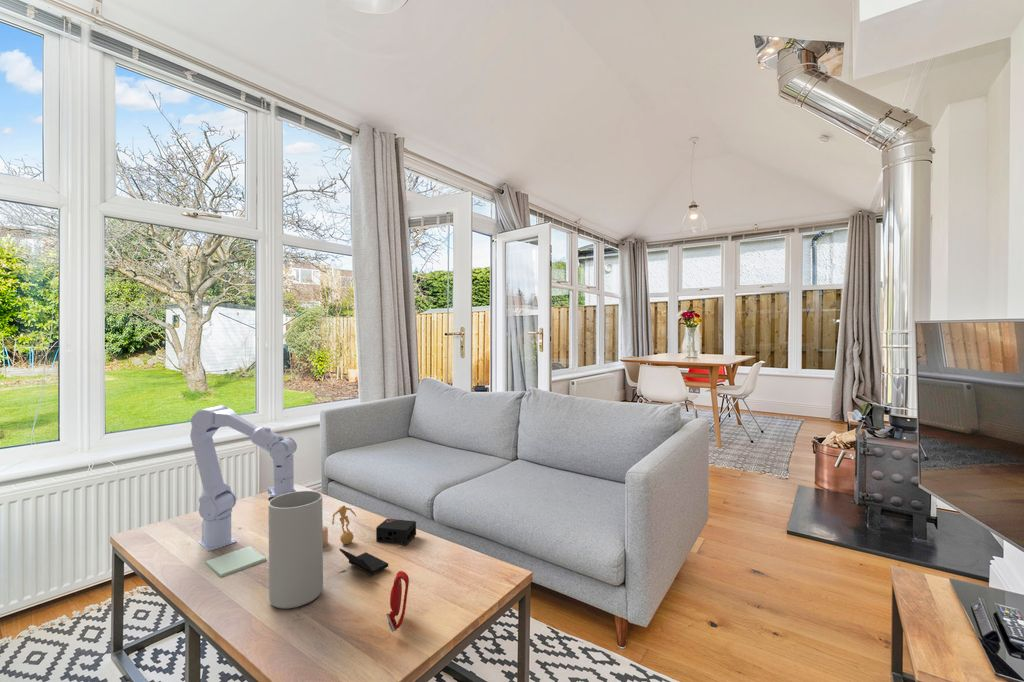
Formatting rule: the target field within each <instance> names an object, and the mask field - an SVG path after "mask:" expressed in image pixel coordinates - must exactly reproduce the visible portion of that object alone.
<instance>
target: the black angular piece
mask: <svg viewBox="0 0 1024 682" xmlns="http://www.w3.org/2000/svg"><path fill="white" fill-rule="evenodd" d="M338 551H340V552H341V553H342V555H344V557H346V559H347V560H348V564H350V565H352V566H353V567H356V568H358V569H360V570H362V571H363V572H365V573H367V574H368V575H370V576H373V575H375V574H376V573H379V572H380V571H382V570H384V569H386V568H388V567H389V563H388V562H386V561H384V560H382V559H380V558H378V557H376V556H374V555H373V554H371V553H368V552H363V553H360V554H359V555H355V554H352V553H350V552H348V551H346V550H345V549H342V548H339V550H338Z"/></svg>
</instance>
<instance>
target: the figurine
mask: <svg viewBox="0 0 1024 682" xmlns="http://www.w3.org/2000/svg"><path fill="white" fill-rule="evenodd" d="M347 511H350V512H351V513H352V514H353V515H354V517H357V515H356V513H355V512H354V510H353V509H352V508H350V507H346V505H342V506H339V507H338V509H337V510H336V511H335V512H334V513H333V514H332V522H331V524H332V526H333V525H335V516H336V515H337V514H339V515H340V518H339V521H340V524H341V529H342V533H341V535H340V542H341V543H342V544H343V545H349V544H350V543H352V542H353V541H354V534H353V532H352V531H351V530H350V529H349V525H350V523H351V522H350V519H349V516H348V515H346V514H347ZM345 523H346V524H345ZM344 527H345V528H346V530H345V528H344Z"/></svg>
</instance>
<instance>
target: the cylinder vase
mask: <svg viewBox="0 0 1024 682" xmlns="http://www.w3.org/2000/svg"><path fill="white" fill-rule="evenodd" d="M296 491H297V490H296ZM323 520H324V519H323V493H321V492H319V491H316V490H298V491H297V492H291V493H286V494H283V495H280V496H277V497H275V498H273V499H271V500H270V501H269V500H268V600H269V603H270V604H271V606H273V607H275V608H277V609H293V608H298V607H301V606H304V605H306V604H308V603H311V602H313V601H315V599H317V598H318V597H319V595H321V593H322V591H323V589H324V566H323V565H324V559H323V558H324V557H323V556H324V555H323V552H324V547H323V527H324V526H323Z"/></svg>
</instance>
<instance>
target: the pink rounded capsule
mask: <svg viewBox="0 0 1024 682" xmlns="http://www.w3.org/2000/svg"><path fill="white" fill-rule="evenodd" d="M328 529H329V528H328V527H327V526H323V548H325V547H327V546H328V544H329V530H328Z"/></svg>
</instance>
